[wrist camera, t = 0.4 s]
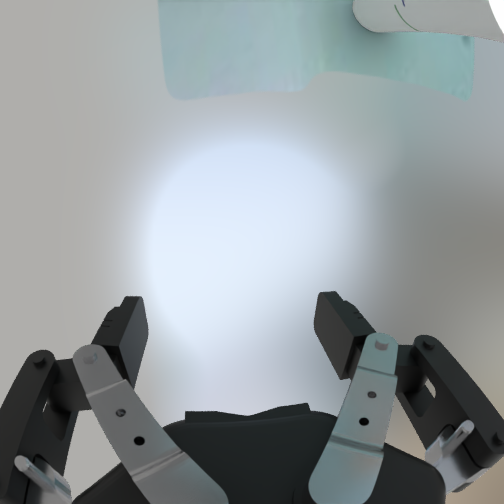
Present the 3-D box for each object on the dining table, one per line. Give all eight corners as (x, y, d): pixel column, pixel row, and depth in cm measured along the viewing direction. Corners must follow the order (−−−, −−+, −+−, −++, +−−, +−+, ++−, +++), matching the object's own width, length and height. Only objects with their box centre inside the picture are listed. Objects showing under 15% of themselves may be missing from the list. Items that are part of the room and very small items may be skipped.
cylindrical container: (388, -4, 22) (519, -9, 3) (395, 34, 27) (530, 54, 8) (348, -10, 22) (477, -39, 3) (356, 30, 27) (494, 33, 8)
